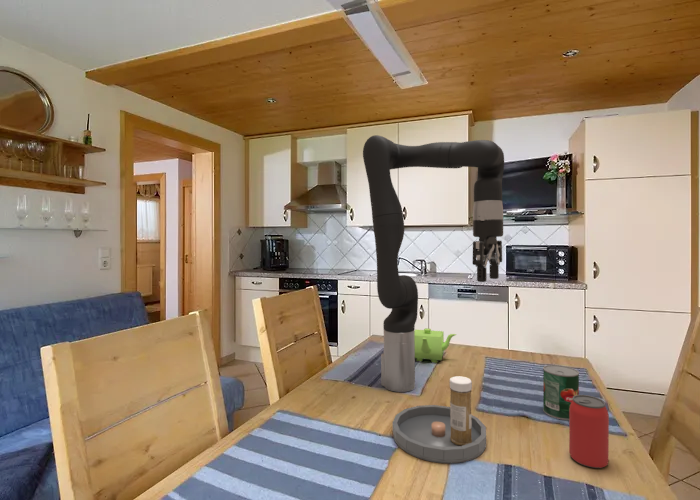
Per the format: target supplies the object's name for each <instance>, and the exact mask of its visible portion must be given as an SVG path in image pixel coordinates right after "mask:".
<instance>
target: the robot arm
mask: <svg viewBox="0 0 700 500" xmlns="http://www.w3.org/2000/svg"><path fill="white" fill-rule="evenodd" d="M362 158H363V163H364V167H365V173H366V178H367V182H368V187H369V199H370V207H371V217H372V226H373V234H374V241H375V242H374V243H375V254H376V289H377V296H378V300H379V301H380V303H381V305H382V306H383V307H385V308H386V309H388V310H389V309H391V311H390V313H389V315H387V317H385V318H384V319H383V324H382V325H383V326H382V327H383V352H382V353H381V354H380V362H381V364H380V366H381V367H380V368H381V369H380V376H381V377H380V378H381V379H380V380H381V381H380V382H381V386H383V387H384V388H385V390H388V391H390V392H397V393H398V392H399V393H404V392H405V393H406V392H410V391H413V390H414V389H415V388H416V358H415V330H416V329H415V326H416V325H415V324H416V323H417V320H418V307H419V292H418V286H417V283H416V281H415V279H413V277H411V276H409V275H406V274H404V275H403V274H402V275H400V273H399V263H398V258H399V252H400V249H401V247H402V246H401V245H402V244H403V243H402V242H403V239H404V236H405V222H404V221H405V219H404V212H403V208H402V205H401V202H400V199H399V197H398V195H397V192H396V190H395V188H394V185H393V182H392V178H391V170H395V169H402V168H404V169H405V168H417V167H418V168H433V169H434V168H436V169H461V168H463V167H464V168H465V167H466V168H477V175H476V176H477V177H476V179H477V180H476V181H475V182H474V186H473V208H472V236H473V237H474V238H478V240H477V241H476V240H475V241H473V242H472V265H473V266H475V267H476V281H477V282H479V283H485V282H487V275H488V274H487V273H488V271H487V266H488V263H489V279H492V280H497V279H499V277H500V276H499V273H500V271H499V269H500V267H499V266H500V264H501V263H502V262H503V242H502V240H497V237H498V238H499V237H500V238H501V237H504V207H503V185H502V184H503V183H502V182H503V176H504V167H505V155H504V151H503V148H501V147H500V146H499V145H498V144H497V143H496V142H495V141H492V140H488V139H475V140H468V141H461V142H457V141H454V142H453V141H451V142H450V141H446V142H445V141H438V142H437V141H436V142H430V143H425V144H420V145H404V144H400V143H399V144H398V143H395V142H394V141H392V140H390V139H388V138H386V137H384V136H382V135H378V134H377V135H375V134H374V135H372V136H370V137H368V138H367V139H366V141H365V142H364V145H363V149H362Z"/></svg>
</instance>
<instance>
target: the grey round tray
mask: <svg viewBox="0 0 700 500" xmlns="http://www.w3.org/2000/svg"><path fill="white" fill-rule="evenodd" d="M471 419H472V427H471V438H472V443H469V444H466V445H463V446H460V445H456V444H454V443H453V442H452V441H451V439H450V437H451V424H450V406H445V405H437V404H428V405H427V404H425V405H415V406H412V407H408V408H405V409H403V410H402V411H400V412H398V413H397V414H395V416H394V418H393V421H392V433H393V439H394V441H395V444H396V445H397V446H398V447H399V449H401V450H402V451H404V453H407V454H408V455H410V456H412V457H414V458H417V459H420V460H423V461H426V462H431V463H436V464H437V463H438V464H460V462H461V463H465V462H466V461H467V462H469V461H470V462H471V461H472V460H474V459H477V458H478V457H480V456H482V454H483V453H484V452H485V450H486V447H487V427H486V425H485V424H484V423H483V422H482V421H481V419H480V418H479V417H477V416H475V415H473V414H471Z"/></svg>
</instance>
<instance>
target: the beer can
mask: <svg viewBox="0 0 700 500" xmlns="http://www.w3.org/2000/svg"><path fill="white" fill-rule="evenodd" d="M572 399H573V400H572V402H571V404H570V408H569V420H568V423H569V424H568V425H569V426H568V427H569V435H568V437H569V439H568V441H569V442H568V443H569V445H568V448H569V449H568V450H569V456H570V457H571V458H572V459H573V460H574V462H576V463H578V464H580V465H582V466H585V467H587V468H592V469H601V468H605V467H606V466H608V464H609V454H610V453H609V452H610V451H609V449H610V448H609V440H610V439H609V438H610V437H609V436H610V435H609V434H610V432H609V429H610V427H609V426H610V425H609V424H610V423H609V422H610V421H609V420H610V419H609V418H610V416H609V412H608V409H607V407H606V402H605V401H604V400H603V399H601V398H599V397H596V396H592V395H589V394H588V395H586V394H579V395H576V396H573V398H572Z"/></svg>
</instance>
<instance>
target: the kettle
mask: <svg viewBox="0 0 700 500" xmlns="http://www.w3.org/2000/svg"><path fill="white" fill-rule="evenodd" d="M414 330H415V362H418V361H421V362H423V360H430V362H431V363H432V362H433V363H432V364H438V363H437V362H438V361H442V360H443V356H444V354H445V352H444V351H446V350H447V349H448V347H449V345H450V343H451V340H452V338H453V337H455V336H457V334H455V333H450V334H448V335H447V337H446V340H445V341H444V339H445V338H444V335H445V333H444V331H443V330H441V331H440V330H432V329H431V328H424V329H414Z"/></svg>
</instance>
